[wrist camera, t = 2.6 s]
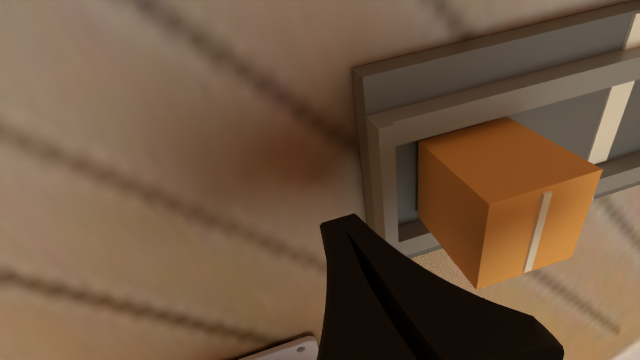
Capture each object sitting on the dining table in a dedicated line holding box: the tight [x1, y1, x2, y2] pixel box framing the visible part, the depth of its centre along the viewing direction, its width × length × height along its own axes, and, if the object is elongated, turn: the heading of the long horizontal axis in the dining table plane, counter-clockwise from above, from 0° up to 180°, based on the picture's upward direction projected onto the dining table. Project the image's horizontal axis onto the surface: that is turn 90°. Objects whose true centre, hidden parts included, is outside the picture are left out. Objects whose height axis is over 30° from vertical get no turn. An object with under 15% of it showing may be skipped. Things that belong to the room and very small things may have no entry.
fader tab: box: [418, 117, 603, 290], centre depth 14 cm, size 4×4×4 cm
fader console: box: [351, 0, 640, 258], centre depth 17 cm, size 17×10×2 cm, turn 98°
